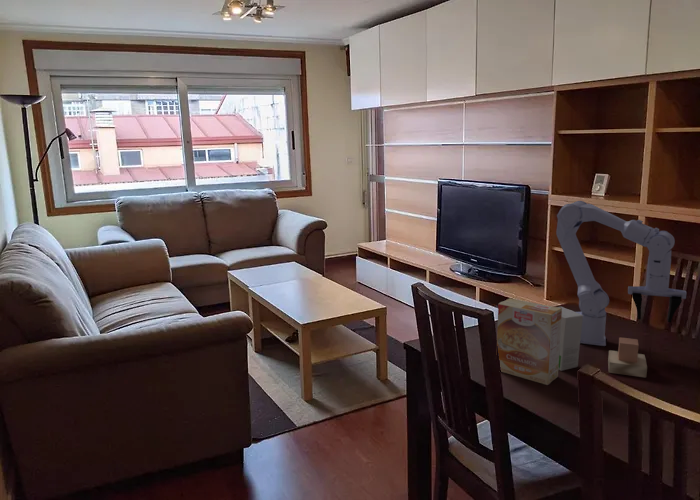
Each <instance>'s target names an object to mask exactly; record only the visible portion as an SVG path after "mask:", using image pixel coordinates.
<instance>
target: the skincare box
mask: <svg viewBox="0 0 700 500" xmlns="http://www.w3.org/2000/svg"><path fill="white" fill-rule="evenodd" d="M556 307H557V308H562V317H561V334H560V351H559V368H558V371H561V372H563V371H565V370H566V371H567V370H570V369H574V368H578V367H579V360H580V359H579V356H580V347H581V343H580V339H581V329H582V320H583V315H581V314H578V313H576V312H577V311H574V310H571V309H568V308H565V307H564V306H556Z"/></svg>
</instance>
